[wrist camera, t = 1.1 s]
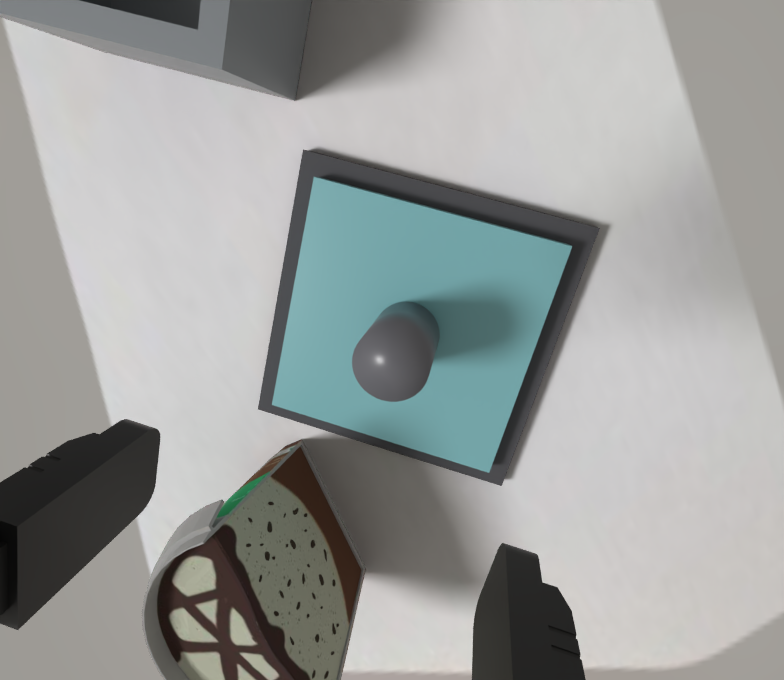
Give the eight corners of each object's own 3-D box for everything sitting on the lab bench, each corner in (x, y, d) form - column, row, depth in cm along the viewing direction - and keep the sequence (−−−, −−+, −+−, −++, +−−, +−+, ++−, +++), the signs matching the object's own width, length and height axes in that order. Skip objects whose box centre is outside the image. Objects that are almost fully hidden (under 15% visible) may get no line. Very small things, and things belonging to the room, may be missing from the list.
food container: (203, 445, 30) (77, 563, 21) (290, 416, 29) (196, 530, 19) (290, 606, 33) (213, 775, 24) (375, 588, 31) (328, 762, 22)
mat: (307, 150, 24) (303, 149, 24) (596, 227, 23) (599, 228, 22) (262, 404, 29) (257, 409, 28) (501, 479, 28) (501, 485, 27)
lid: (319, 177, 24) (275, 175, 19) (569, 244, 23) (593, 261, 18) (277, 398, 28) (232, 446, 23) (488, 464, 27) (490, 529, 22)
